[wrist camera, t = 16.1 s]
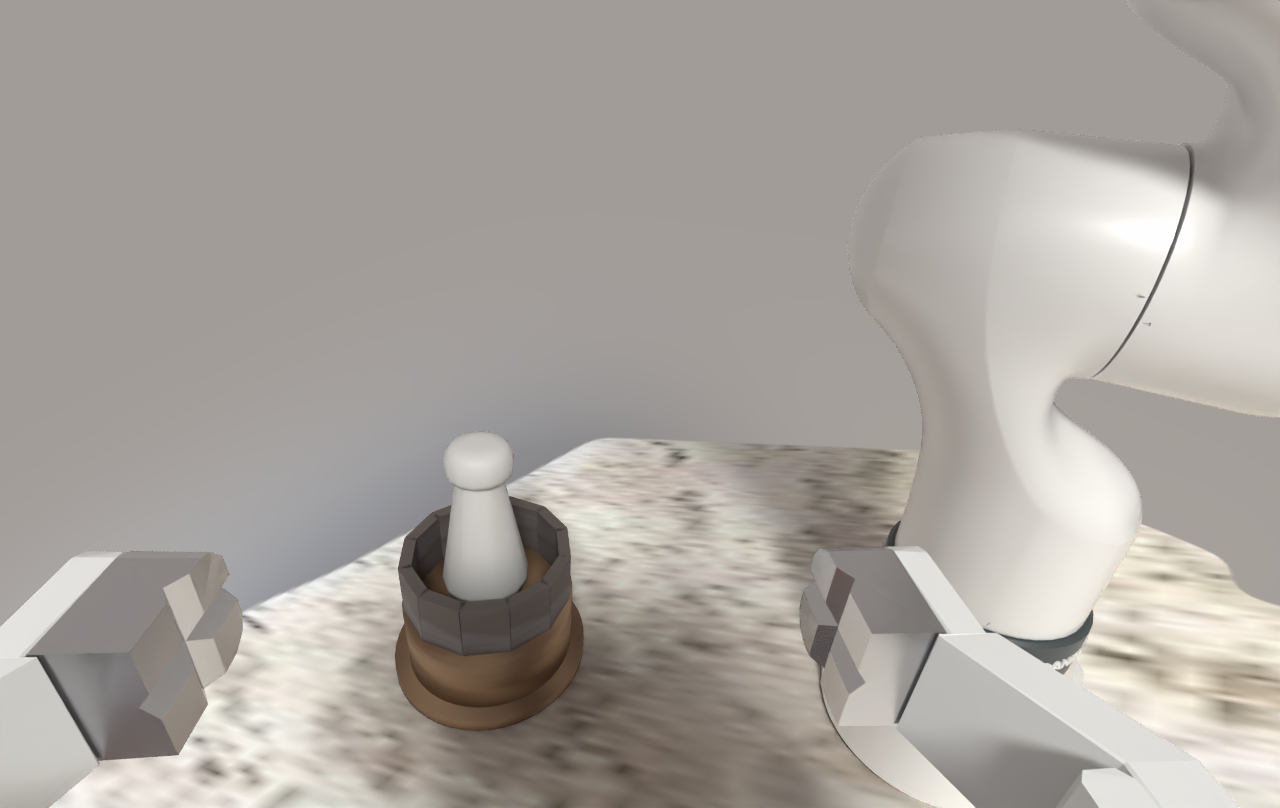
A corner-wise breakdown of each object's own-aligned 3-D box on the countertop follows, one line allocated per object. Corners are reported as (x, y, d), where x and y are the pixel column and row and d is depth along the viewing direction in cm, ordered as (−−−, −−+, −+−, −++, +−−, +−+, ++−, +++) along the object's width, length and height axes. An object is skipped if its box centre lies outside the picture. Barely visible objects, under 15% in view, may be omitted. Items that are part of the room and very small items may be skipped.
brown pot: (523, 556, 56) (522, 467, 51) (618, 659, 47) (627, 563, 42) (368, 630, 48) (349, 531, 43) (447, 772, 39) (434, 667, 34)
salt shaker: (544, 590, 45) (545, 441, 39) (486, 640, 41) (476, 482, 34) (488, 555, 48) (480, 410, 41) (428, 599, 43) (409, 445, 37)
